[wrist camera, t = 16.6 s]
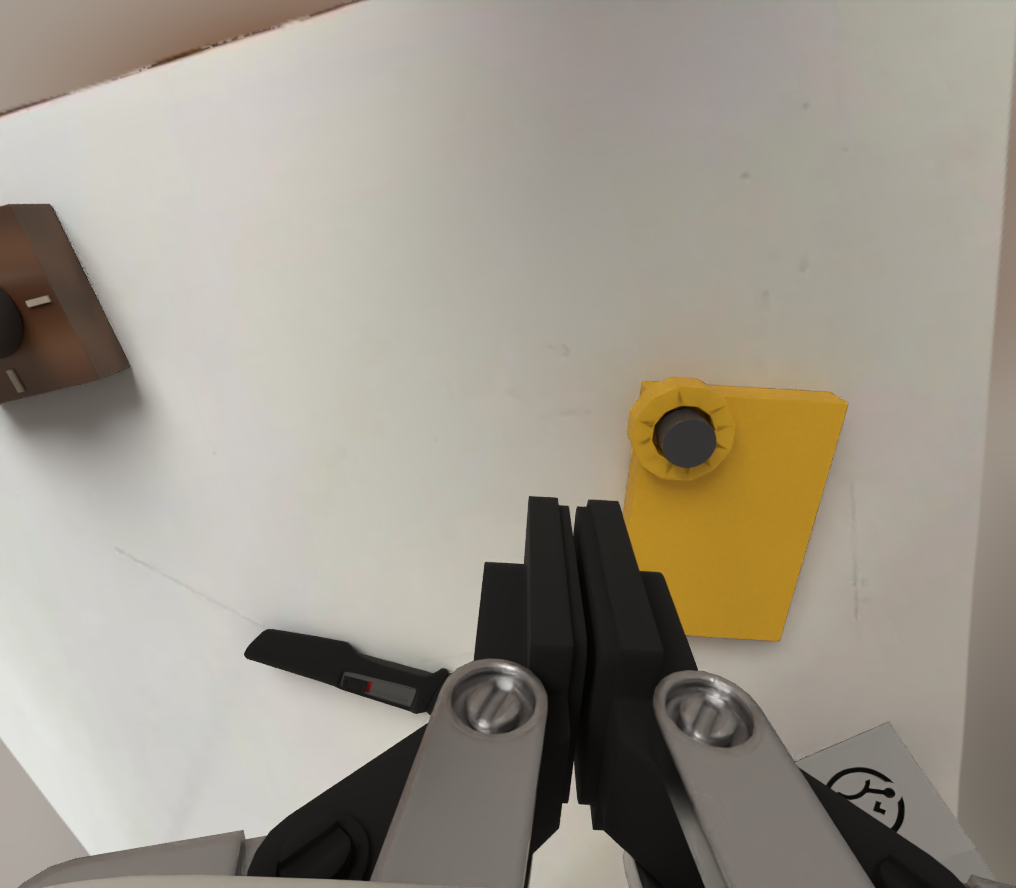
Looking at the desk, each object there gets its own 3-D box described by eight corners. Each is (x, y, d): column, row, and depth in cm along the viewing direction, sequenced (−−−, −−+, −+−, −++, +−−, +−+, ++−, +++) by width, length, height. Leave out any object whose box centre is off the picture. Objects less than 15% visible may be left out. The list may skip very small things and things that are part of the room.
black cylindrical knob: (660, 407, 34) (667, 417, 32) (712, 410, 34) (721, 420, 32) (652, 454, 35) (658, 466, 34) (702, 457, 35) (711, 469, 34)
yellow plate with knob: (628, 365, 37) (640, 383, 33) (835, 377, 37) (870, 397, 33) (595, 610, 44) (601, 648, 40) (768, 621, 44) (790, 659, 40)
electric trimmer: (266, 607, 45) (247, 635, 42) (456, 667, 47) (451, 698, 44) (257, 643, 47) (238, 673, 44) (442, 701, 48) (436, 733, 45)
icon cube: (824, 836, 53) (887, 971, 44) (774, 770, 50) (830, 900, 41) (934, 793, 50) (1026, 926, 41) (888, 721, 47) (975, 847, 38)
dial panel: (-97, 245, 35) (-152, 249, 32) (50, 203, 34) (6, 203, 31) (-5, 399, 39) (-48, 415, 36) (130, 366, 38) (97, 380, 35)
